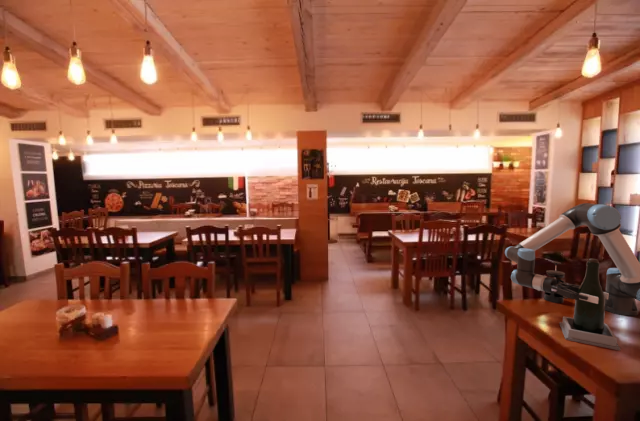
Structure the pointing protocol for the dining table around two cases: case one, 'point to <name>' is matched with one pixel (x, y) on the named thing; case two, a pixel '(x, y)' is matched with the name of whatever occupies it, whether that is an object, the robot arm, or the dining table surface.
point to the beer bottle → (589, 313)
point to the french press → (557, 274)
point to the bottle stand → (589, 335)
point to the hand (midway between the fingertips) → (603, 298)
